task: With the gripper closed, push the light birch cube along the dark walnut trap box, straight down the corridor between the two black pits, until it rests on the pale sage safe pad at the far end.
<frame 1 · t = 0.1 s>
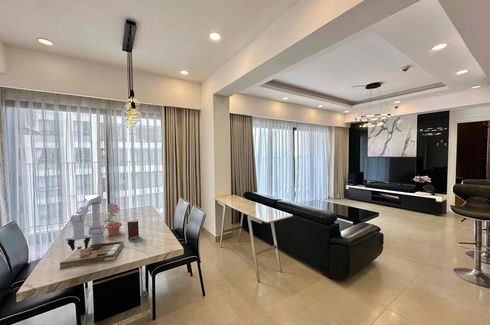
hand: (79, 249, 139), 10 cm above the table, fingers open, 7 cm apart
block: (85, 253, 148), point 2 cm above the table, touching trap box
decorative flower: (113, 234, 189), on the table
trap box: (95, 255, 150), on the table
supplement box: (133, 238, 179), on the table
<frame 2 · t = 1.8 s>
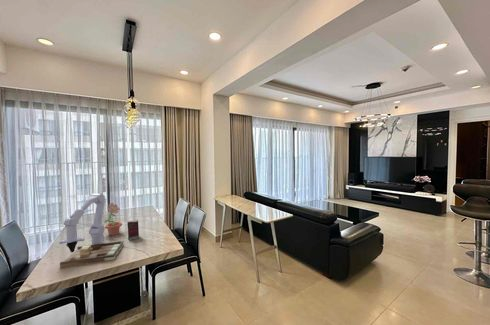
hand: (72, 251, 145), 5 cm above the table, fingers closed
nothing on the table moved.
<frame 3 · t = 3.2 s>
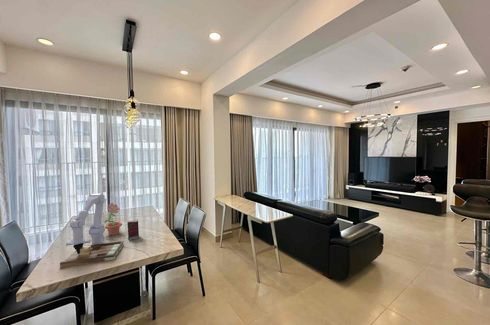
hand: (79, 253, 147), 3 cm above the table, fingers closed
block: (85, 253, 148), point 2 cm above the table, touching gripper, trap box
everything else where it was.
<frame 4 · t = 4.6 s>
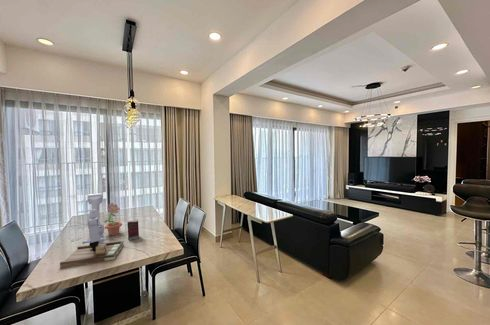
hand: (94, 251, 150), 3 cm above the table, fingers closed
block: (101, 251, 151), point 2 cm above the table, touching gripper, trap box
everything else where it was.
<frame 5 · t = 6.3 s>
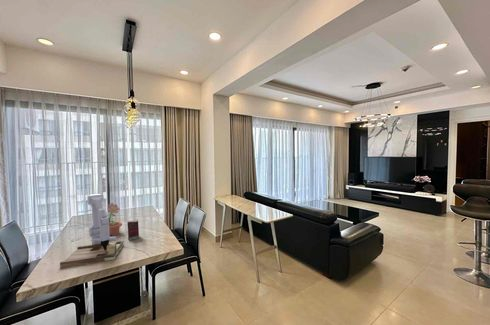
hand: (105, 249, 152), 3 cm above the table, fingers closed
block: (111, 250, 153), point 2 cm above the table, touching gripper, trap box
everything else where it was.
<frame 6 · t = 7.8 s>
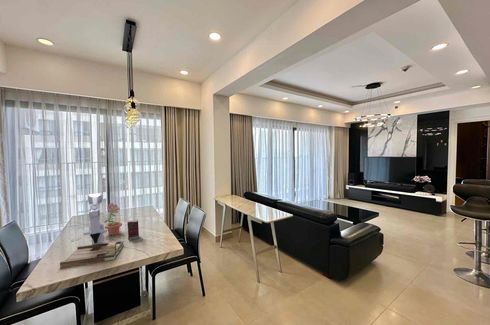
hand: (96, 242, 150), 9 cm above the table, fingers closed
block: (111, 250, 153), point 2 cm above the table, touching trap box
everything else where it was.
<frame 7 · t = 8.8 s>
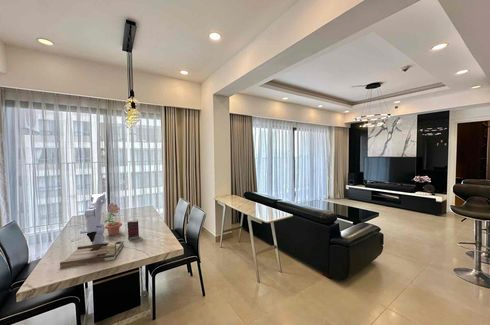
hand: (92, 241, 152), 9 cm above the table, fingers closed
nothing on the table moved.
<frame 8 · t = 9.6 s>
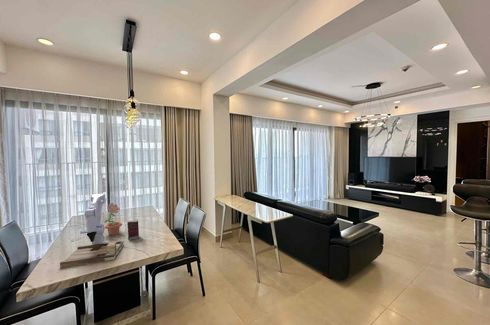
hand: (92, 241, 152), 9 cm above the table, fingers closed
nothing on the table moved.
at the end: block inside the target area on the trap box (0.7 cm from its centre), point 2.0 cm above the trap box's base; block tilted 0° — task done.
